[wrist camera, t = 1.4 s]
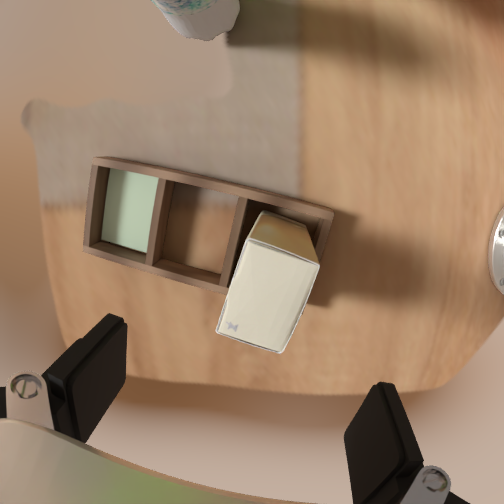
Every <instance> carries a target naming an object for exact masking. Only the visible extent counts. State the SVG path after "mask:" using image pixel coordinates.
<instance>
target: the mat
mask: <svg viewBox="0 0 504 504" xmlns="http://www.w3.org/2000/svg"><path fill="white" fill-rule="evenodd" d="M158 179H159V178H158V177H153V176H148V175H143V174H139V173H134V172H129V171H124V170H119V169H114V168H110V174H109V180H108V187H107V194H106V201H105V209H104V218H103V227H102V237H101V239H102V240H105V241H108V242H112V243H115V244H118V245H122V246H125V247H129V248H132V249H136V250H139V251H142V252H146V253H147V246H148V238H149V232H150V225H151V219H152V212H153V206H154V201H155V195H156V189H157V184H158Z"/></svg>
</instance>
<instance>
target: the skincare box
mask: <svg viewBox="0 0 504 504" xmlns="http://www.w3.org/2000/svg"><path fill="white" fill-rule="evenodd" d="M319 268H320V264H319V261H318V258H317V255H316V252H315V250H314V247H313V244H312V241H311V238H310V236H309V233H308V230H307V227H306V225H304V224H301V223H299V222H296V221H294V220H291V219H289V218H286V217H283V216H281V215H278V214H275V213H272V212H269V211H266V210H262V211H261V213H260V215H259V217H258V218H257V220H256V222H255V224H254V226H253V228H252V230H251V231H250V233H249V235H248V237H247V239H246V241H245V244H244V246H243V249H242V252H241V255H240V258H239V261H238V264H237V267H236V270H235V273H234V276H233V279H232V282H231V285H230V288H229V291H228V294H227V297H226V300H225V303H224V306H223V309H222V312H221V315H220V318H219V322H218V325H217V328H216V332H217V333H218V334H221V335H224V336H227V337H229V338H232V339H235V340H238V341H240V342H243V343H246V344H249V345H252V346H255V347H258V348H261V349H265V350H268V351H272V352H276V353H280V354H281V353H282V352H283V351H284V349H285V347H286V346H287V344H288V342H289V340H290V338H291V336H292V334H293V332H294V330H295V328H296V325H297V323H298V321H299V319H300V316H301V314H302V312H303V309H304V307H305V305H306V302H307V300H308V297H309V295H310V292H311V290H312V287H313V284H314V282H315V279H316V276H317V274H318V271H319Z"/></svg>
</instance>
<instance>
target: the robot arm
mask: <svg viewBox="0 0 504 504" xmlns="http://www.w3.org/2000/svg"><path fill="white" fill-rule="evenodd" d="M488 266H489V271H490V276H491V279H492V281H493V283H494V285H495V287H496V288H497V290H499V291H500V292H501V293H502V294H503V295H504V206H503V208H502V209H501V211H500V213H499V215H498V217H497V219H496V221H495V223H494V226H493V229H492V232H491V237H490V242H489V250H488ZM126 349H127V324H126V323H124V319H123V318H121V317H119V316H116V315H113V314H110V313H109V314H107V315H106V316H105V317H104V318H103V319H102V320H101V321H100V322H99V323H98V324H97V325H96V326H95V327H94V328H92V329H91V330H90V331H89V332H88V333H87V334H86V335H85V336H84V337H83V338H80V339H78V340H76V341H75V342H74V343H73V344H72V345H71V346H70V347H69V348H68V349H67V350H66V351H65V352H64V353H63V354H62V355H61V356H60V357H59V358H58V359H57V360H56V361H55V362H54V363H53V364H52V365H51V366H50V367H49V368H48V369H47V370H46V371H45V372H44V373H43V374H42V375H41V376H40V375H39V374H37V373H35V372H32V371H20V372H17V373H15V374H13V375H12V376H10V377H9V379H8V381H7V384H6V387H0V504H316V503H303V502H293V501H284V500H277V499H269V498H263V497H257V496H251V495H245V494H240V493H235V492H230V491H225V490H220V489H216V488H212V487H208V486H204V485H200V484H196V483H192V482H189V481H185V480H182V479H178V478H175V477H172V476H168V475H165V474H162V473H159V472H156V471H153V470H150V469H147V468H144V467H142V466H139V465H136V464H133V463H131V462H128V461H126V460H123V459H120V458H118V457H115V456H113V455H110V454H108V453H105V452H103V451H101V450H98V449H96V448H94V447H92V446H89V445H87V444H85V443H86V442H87V440H88V439H89V437H90V435H91V434H92V432H93V431H94V429H95V428H96V426H97V425H98V423H99V421H100V420H101V418H102V417H103V415H104V414H105V412H106V410H107V409H108V408H109V406H110V405H111V403H112V402H113V400H114V399H115V397H116V396H117V394H118V392H119V391H120V389H121V388H122V387H123V385H124V383H125V379H126ZM344 443H345V449H346V455H347V461H348V469H349V475H350V482H351V490H352V497H353V504H470V503H468V502H466V501H465V500H463V499H461V498H460V497H458V496H456V495H455V494H453V493H452V492H450V491H449V490H450V486H451V481H450V478H449V476H448V474H447V473H446V472H445V471H444V470H442V469H441V468H439V467H436V466H425V467H424V465H423V461H424V460H423V457H422V454H421V452H420V449H419V446H418V443H417V441H416V438H415V435H414V433H413V430H412V427H411V425H410V422H409V420H408V417H407V415H406V412H405V410H404V407H403V405H402V402H401V400H400V397H399V395H398V393H397V390H396V388H395V385H394V384H392V383H386V382H379V383H377V385H373V386H372V388H371V389H370V391H369V393H368V395H367V396H366V398H365V400H364V402H363V403H362V405H361V407H360V408H359V410H358V412H357V413H356V415H355V417H354V418H353V420H352V421H351V423H350V425H349V426H348V428H347V429H346V431H345V434H344Z"/></svg>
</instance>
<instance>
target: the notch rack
mask: <svg viewBox="0 0 504 504" xmlns="http://www.w3.org/2000/svg"><path fill="white" fill-rule="evenodd" d="M110 168H114V169H119V170H124V171H129V172H134V173H139V174H143V175H148V176H153V177H158V178H159V179H158V184H157V189H156V195H155V201H154V206H153V212H152V219H151V225H150V232H149V238H148V246H147V253H146V254H145V253H141V252H138V251H134V250H131V249H128V248H124V247H121V246H117V245H114V244H111V243H107V242H104V241H101V240H102V239H101V237H102V227H103V218H104V209H105V201H106V194H107V187H108V180H109V174H110ZM175 181H176V182H180V183H185V184H189V185H194V186H198V187H202V188H207V189H211V190H215V191H219V192H224V193H228V194H232V195H236V196H239V199H238V203H237V208H236V212H235V216H234V220H233V225H232V229H231V233H230V238H229V242H228V246H227V251H226V255H225V260H224V264H223V269H222V273H221V275H219V274H216V273H212V272H208V271H205V270H201V269H198V268H194V267H190V266H187V265H183V264H180V263H176V262H173V261H169V260H166V259H162V252H163V246H164V240H165V233H166V227H167V222H168V216H169V210H170V205H171V199H172V194H173V189H174V184H175ZM250 199H252V200H256V201H260V202H264V203H268V204H271V205H275V206H279V207H283V208H287V209H290V210H294V211H298V212H302V213H305V214H309V215H312V216H316V217H320V219H319V222H318V226H317V229H316V233H315V236H314V239H313V243H312V244H313V247H314V250H315V252H316V255H317V258H318V261H319V263H320V260H321V257H322V254H323V250H324V247H325V244H326V241H327V237H328V234H329V231H330V227H331V224H332V221H333V217H334V214H335V213H334V212H333V211H332V209H331V208H327V207H324V206H320V205H317V204H313V203H310V202H306V201H302V200H299V199H295V198H291V197H287V196H284V195H280V194H276V193H272V192H268V191H264V190H260V189H256V188H252V187H248V186H244V185H240V184H236V183H232V182H228V181H223V180H219V179H215V178H210V177H206V176H202V175H197V174H193V173H188V172H183V171H179V170H174V169H169V168H164V167H159V166H154V165H149V164H144V163H139V162H134V161H128V160H123V159H118V158H112V157H93V162H92V169H91V176H90V183H89V190H88V198H87V207H86V217H85V229H84V242H83V252H85V253H88V254H91V255H94V256H97V257H100V258H103V259H106V260H110V261H113V262H116V263H119V264H122V265H125V266H129V267H132V268H135V269H138V270H141V271H145V272H148V273H151V274H155V275H158V276H161V277H165V278H168V279H171V280H175V281H178V282H182V283H185V284H189V285H192V286H196V287H199V288H203V289H206V290H210V291H213V292H217V293H221V294H224V295H227V294H228V291H229V288H230V285H231V282H232V279H233V278H231V276H232V272H233V268H234V263H235V259H236V255H237V251H238V246H239V242H240V238H241V234H242V230H243V226H244V221H245V217H246V213H247V209H248V205H249V201H250ZM306 303H307V302H306ZM305 306H306V305H305ZM304 308H305V307H304ZM303 311H304V309H303ZM302 314H303V312H302Z"/></svg>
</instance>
